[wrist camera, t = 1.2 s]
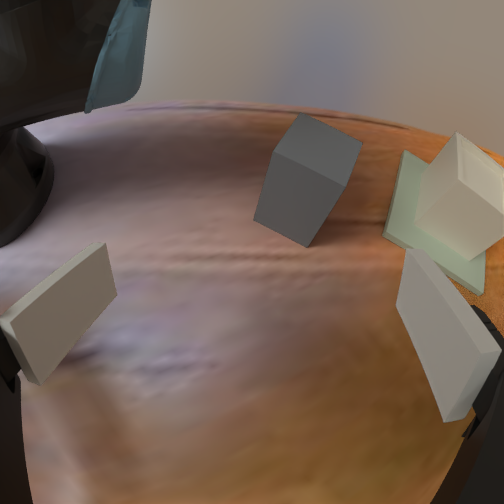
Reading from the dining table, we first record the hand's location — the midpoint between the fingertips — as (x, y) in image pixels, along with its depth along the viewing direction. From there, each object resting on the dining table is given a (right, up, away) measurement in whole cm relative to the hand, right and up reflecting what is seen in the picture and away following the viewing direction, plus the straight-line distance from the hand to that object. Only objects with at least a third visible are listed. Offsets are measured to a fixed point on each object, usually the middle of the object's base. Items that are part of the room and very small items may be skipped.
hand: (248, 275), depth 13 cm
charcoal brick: (+4, +5, +20) cm, 21 cm away
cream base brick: (+25, +6, +22) cm, 34 cm away
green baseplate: (+25, +5, +23) cm, 35 cm away
